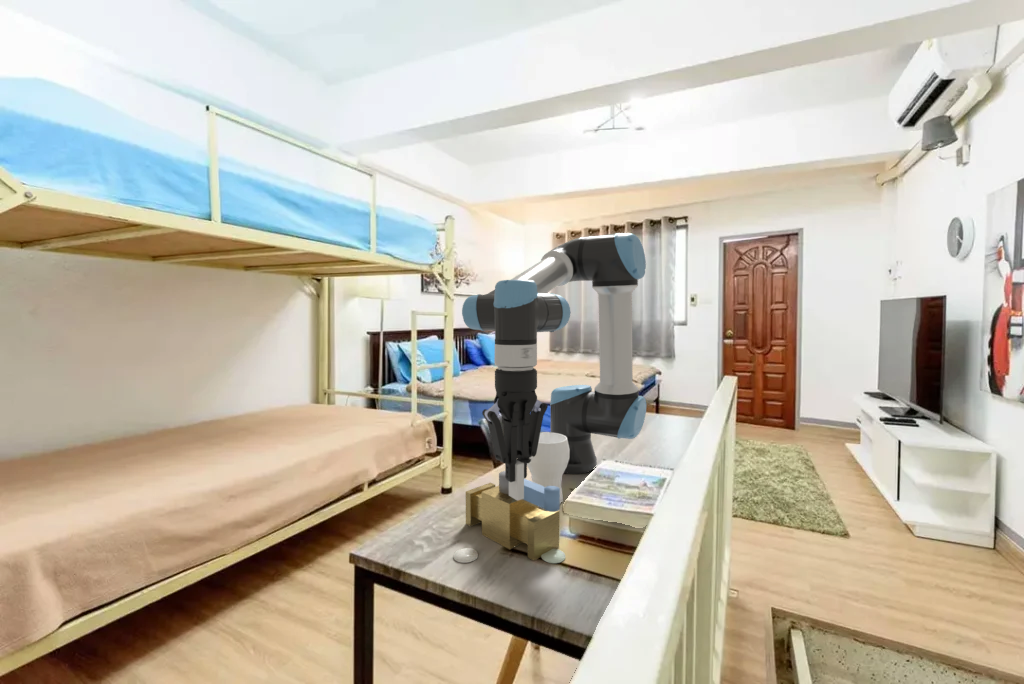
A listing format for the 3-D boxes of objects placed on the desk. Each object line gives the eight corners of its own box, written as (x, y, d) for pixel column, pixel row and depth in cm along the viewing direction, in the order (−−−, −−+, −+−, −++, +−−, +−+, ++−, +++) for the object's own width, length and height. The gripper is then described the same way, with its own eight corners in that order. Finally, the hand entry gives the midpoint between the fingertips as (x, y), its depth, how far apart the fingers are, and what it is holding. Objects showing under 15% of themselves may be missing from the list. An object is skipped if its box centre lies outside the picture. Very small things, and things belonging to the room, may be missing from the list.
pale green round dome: (551, 547, 85) (551, 546, 85) (570, 556, 82) (570, 555, 82) (536, 556, 82) (536, 554, 82) (554, 566, 78) (554, 564, 78)
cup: (567, 511, 100) (567, 445, 99) (520, 507, 102) (520, 442, 101) (570, 492, 111) (571, 432, 110) (528, 489, 113) (528, 430, 112)
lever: (494, 489, 89) (494, 472, 89) (510, 483, 92) (510, 466, 92) (549, 514, 78) (549, 494, 78) (565, 507, 81) (565, 487, 81)
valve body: (463, 524, 94) (463, 483, 93) (492, 512, 99) (492, 474, 99) (532, 561, 80) (532, 514, 79) (560, 545, 85) (561, 500, 85)
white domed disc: (467, 547, 85) (467, 545, 85) (482, 556, 82) (482, 554, 82) (448, 556, 82) (448, 554, 82) (463, 565, 79) (463, 564, 79)
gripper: (496, 373, 73) (497, 514, 74) (557, 367, 80) (557, 495, 82) (473, 368, 79) (474, 498, 80) (532, 363, 86) (532, 482, 88)
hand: (516, 496), depth 81 cm, fingers closed
